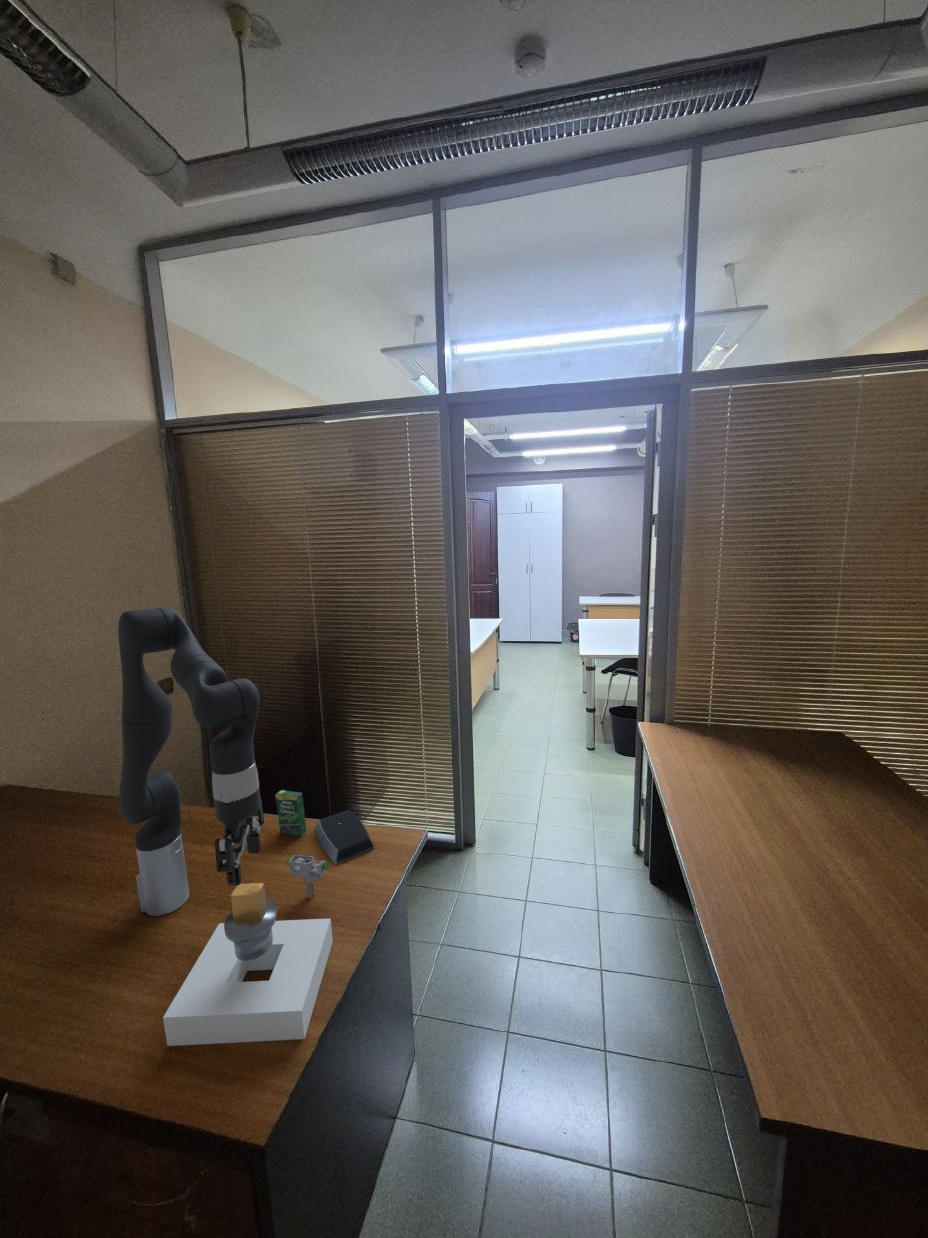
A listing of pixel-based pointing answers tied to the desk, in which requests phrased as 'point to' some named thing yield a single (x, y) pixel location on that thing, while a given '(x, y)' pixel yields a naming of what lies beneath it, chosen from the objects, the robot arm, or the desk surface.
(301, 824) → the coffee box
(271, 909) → the end cap
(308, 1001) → the housing
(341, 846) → the external hard drive
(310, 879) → the mechanical component
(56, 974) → the desk surface
